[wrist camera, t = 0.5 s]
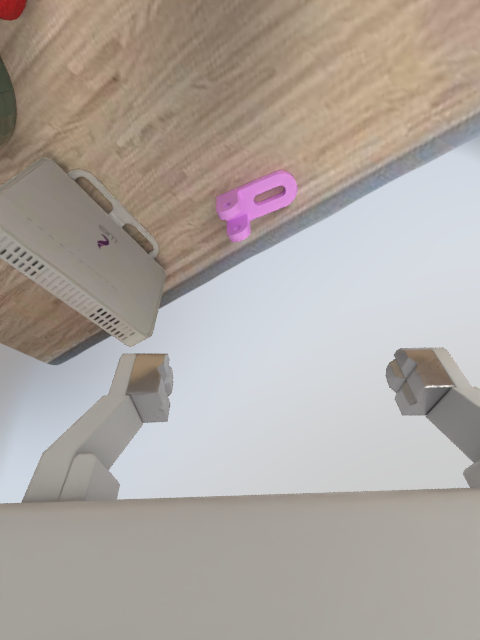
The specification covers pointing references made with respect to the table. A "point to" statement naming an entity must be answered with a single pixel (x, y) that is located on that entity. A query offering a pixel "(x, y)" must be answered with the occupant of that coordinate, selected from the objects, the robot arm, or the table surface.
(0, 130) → the bowl
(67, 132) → the table surface
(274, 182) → the bracket
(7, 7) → the strawberry
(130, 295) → the network device
